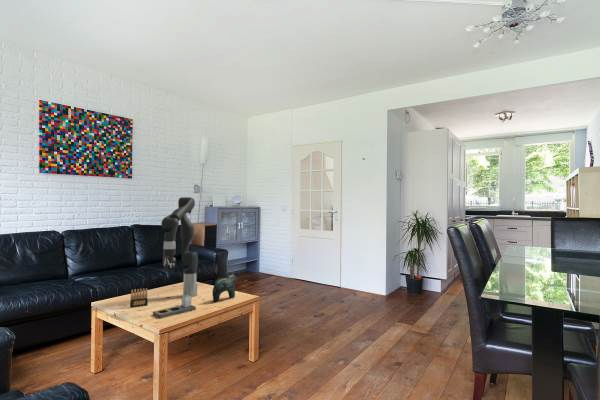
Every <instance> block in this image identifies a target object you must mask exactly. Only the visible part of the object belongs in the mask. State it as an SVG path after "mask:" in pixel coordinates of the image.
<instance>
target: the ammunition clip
mask: <svg viewBox="0 0 600 400" xmlns="http://www.w3.org/2000/svg"><path fill="white" fill-rule="evenodd" d="M130 292H131V293H130V303H129V307H130V308H133V309H134V308H140V307H146V306H147V307H148V306H149V305H148V304H149V303H148V288H147V287H146V288H143V289H142V288H140V289H139V288H137V289H136V288H134V290H133V289H131V291H130Z"/></svg>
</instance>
